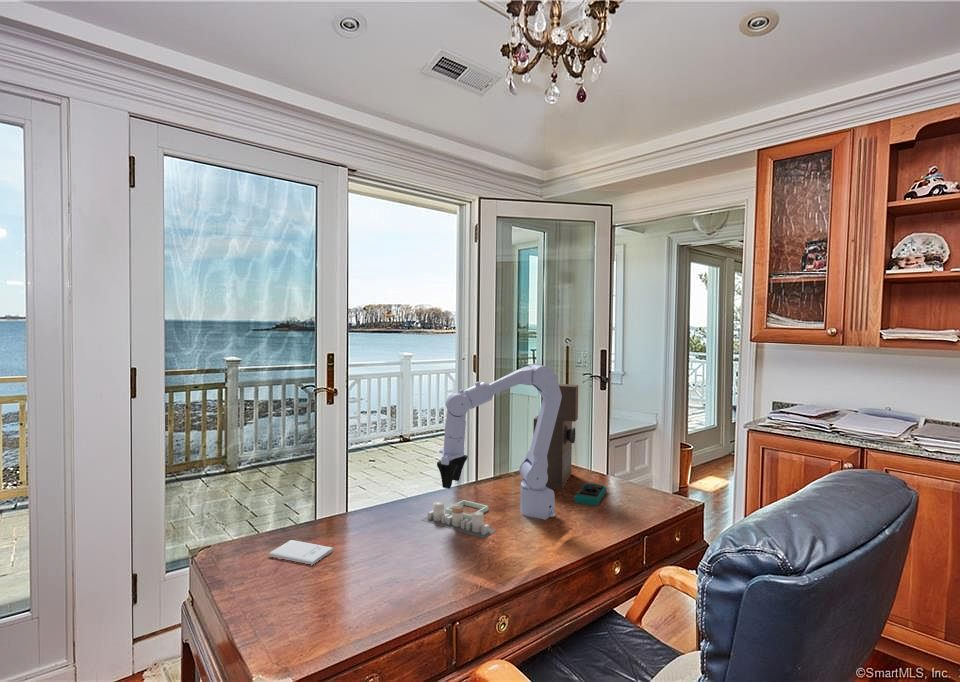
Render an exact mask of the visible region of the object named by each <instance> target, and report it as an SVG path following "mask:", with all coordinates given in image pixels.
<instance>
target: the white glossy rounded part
mask: <svg viewBox="0 0 960 682" xmlns="http://www.w3.org/2000/svg"><path fill="white" fill-rule="evenodd" d="M432 510H433V521H435V522H441V516H443V515H445V503H444V502H442V501H435V502H433V504H432Z"/></svg>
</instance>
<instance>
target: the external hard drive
mask: <svg viewBox="0 0 960 682" xmlns="http://www.w3.org/2000/svg"><path fill="white" fill-rule="evenodd" d="M334 551H335V550H334V547H332V546H325V545H319V544H316V543H311V542H305V541H299V540H294V539H290V540H288V541H287V542H285V543H284V544H283V543H282V545H280V546H278V547H276V548H275V549H273V550H272V551H270V552H269V553H268V557H269V556H273V557H277V558H282V559H287V560H292V561H298V562H302V563H306V564H311V565H310V566H312V565H313V564H314V565H316V564H317V563H318V561H319V560H320V561H321V560H322V559H323V558H325V556H326V557H327V556H328V555H330V554H331V553H333V552H334ZM320 561H319V562H320ZM316 562H317V563H316ZM315 563H316V564H315ZM306 564H305V565H306ZM314 565H313V566H314Z"/></svg>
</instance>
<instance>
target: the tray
mask: <svg viewBox="0 0 960 682" xmlns="http://www.w3.org/2000/svg"><path fill="white" fill-rule="evenodd" d="M457 503H461V504H463V506H467V507H471V508H475V509H478V510H477V511H475V512H482V513H483V514H484V513H486V512H488V511H489V505H485V504H482V503H478V502H475V501H469V500H465V499H463V500H460V501H458V502H457ZM444 514H450V515H452V505H451V506H448V507H446V508H444ZM463 519H469V521H470V520H472V513H471V514H469V513H465V512H463Z"/></svg>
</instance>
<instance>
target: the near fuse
mask: <svg viewBox="0 0 960 682" xmlns="http://www.w3.org/2000/svg"><path fill="white" fill-rule="evenodd" d="M471 514H472V532H474V533H481V527H482V526H484V513H482V512H476V511H473V512H472V513H471Z"/></svg>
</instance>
